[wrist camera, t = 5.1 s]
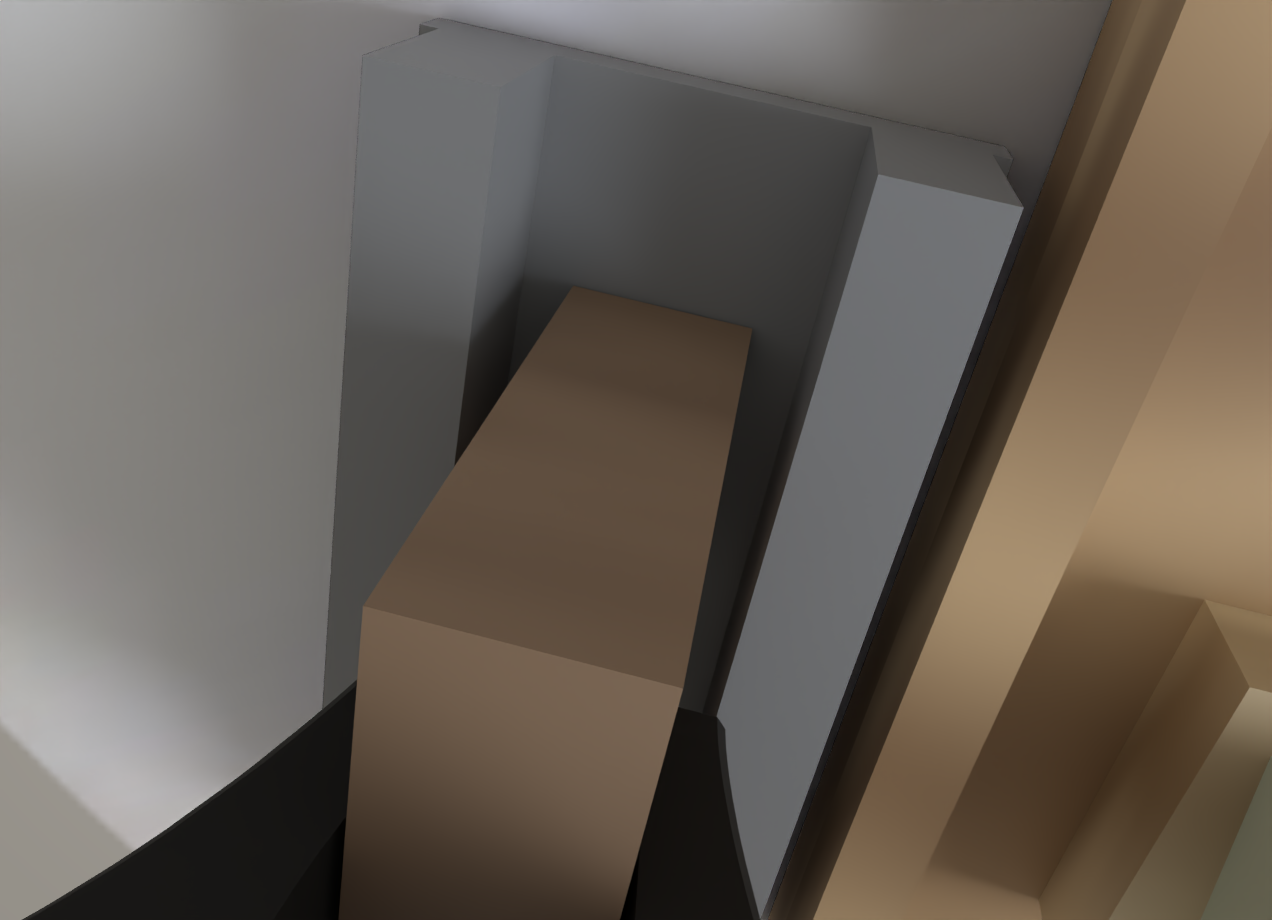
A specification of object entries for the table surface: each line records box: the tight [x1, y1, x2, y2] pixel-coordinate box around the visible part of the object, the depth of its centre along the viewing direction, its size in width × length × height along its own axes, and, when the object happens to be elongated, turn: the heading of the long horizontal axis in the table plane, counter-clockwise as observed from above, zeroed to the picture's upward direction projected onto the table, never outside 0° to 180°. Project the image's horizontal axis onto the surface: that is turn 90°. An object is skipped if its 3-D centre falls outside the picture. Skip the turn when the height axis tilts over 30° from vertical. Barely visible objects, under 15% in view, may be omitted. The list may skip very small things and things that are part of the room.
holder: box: [322, 18, 1024, 920], centre depth 13 cm, size 12×6×3 cm, turn 169°
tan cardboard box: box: [338, 286, 752, 920], centre depth 11 cm, size 8×2×6 cm, turn 169°
